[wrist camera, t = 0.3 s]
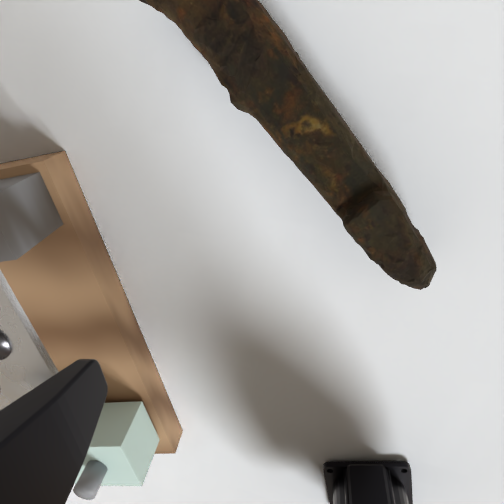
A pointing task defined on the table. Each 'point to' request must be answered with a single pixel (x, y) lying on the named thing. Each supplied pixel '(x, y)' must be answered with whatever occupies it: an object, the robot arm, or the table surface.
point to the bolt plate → (19, 350)
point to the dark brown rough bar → (303, 126)
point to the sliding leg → (118, 449)
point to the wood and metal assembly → (75, 285)
